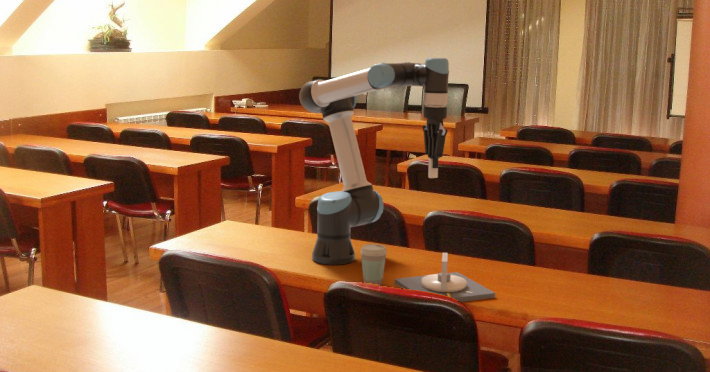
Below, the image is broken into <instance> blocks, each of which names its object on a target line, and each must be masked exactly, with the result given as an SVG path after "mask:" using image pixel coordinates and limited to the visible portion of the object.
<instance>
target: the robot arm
mask: <svg viewBox="0 0 710 372" xmlns="http://www.w3.org/2000/svg"><path fill="white" fill-rule="evenodd" d="M449 64H450V63H449V60H448V59H447V58H446V57H427V58H426V59H425V63H419V62H417V63H416V62H407V61H406V62H399V63H393V62H392V63H391V62H390V63H387V62H386V63H385V62H380V63H374V64H373V65H372V66H371V67H369V68H365V69H362V70H359V71H355V72H351V73H347V74H345V75H342V76H338V77H334V78H331V79H326V80H323V79H316V80H311V81H307V82H306V83H304V84H303V86H301V88H300V90H299V95H298V96H299V102H300V104H301V107H303V108H304V109H305V111H308V112H310V113H313V114H321V115H322V119H323V121H324V122H326V123H328V126H329V131H330V135H331V139H332V143H333V146H334V147H333V148H334V151H335V155H336V159H337V164H338V167H339V171H340V172H339V173H340V175H341V179H342V184H343V187H342V190H340V191H329V192H326V193H323V194H322V195H321V196H319V198H318V200H317V206H316V210H317V211H316V214H317V221H316V222H317V234H316V235H317V237H316V241H315V243H314V246H313V250H312V253H311V259H312V261H314V262H315V263H317V264H321V265H333V266H336V265H337V266H339V265H347V264H351V263H353V262H354V261H355V259H356V253H355V249H354V246H353V242H352V240H351V228H354V227H359V226H363V225H364V226H365V225H369V224H371V223H374V222H377V221H378V220H379V219H380V218H381V216H382V214H383V212H384V200H383V196H382V195H381V194H380V193H379V191H377V190H374V188H373V187H374V186H373V184H372V183H371V182H369V181H368V180H367V176H366V173H365V168H364V164H363V160H362V156H361V152H360V148H359V143H358V138H357V135H356V132H355V131H356V130H355V127H354V124H353V119H352V117H353V115H354V114H355V110H354V108H355V107H356V104H357V103H356V102H357V101H358V96H360V95H362V94H367V93H370V92H374V91H377V90H378V91H379V90H382V89H387V88H393V87H399V88H400V87H424V93H423V105H425V106H424V107H423V118H425V119H426V124H424V125H422V127H421V128H422V132H423V142H424V154H425V156H426V155H427V157H428V173H427V175H428V176H427V177H428V178H429V179H436V178H437V179H438V178H439V159H440V158H442V157H443V154H444V151H445V150H444V149H445V142H446V136H447V134H448V129H446V128H444V119H445V120H446V118H447V117H448V108H447V105H448V98H449V96H448V93H449V92H448V87H449V75H450V68H449V66H450V65H449Z"/></svg>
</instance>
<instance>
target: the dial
mask: <svg viewBox="0 0 710 372" xmlns="http://www.w3.org/2000/svg"><path fill="white" fill-rule="evenodd" d="M449 273H450V272H448V252H442V256H441V272H439V273H433V274H427V276H426V275H423V276H424V277H423V278H422V280H421V285H422V286H423V287H424V288H426V289H428V290H432V291H437V292H457V291H461V290H464V289H465V288H466V283H467V282H466V280H465V279H464V278H462V277H459V276H455V275H451V274H449Z"/></svg>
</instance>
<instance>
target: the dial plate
mask: <svg viewBox="0 0 710 372" xmlns="http://www.w3.org/2000/svg"><path fill="white" fill-rule="evenodd" d="M448 273H449V274H451V275H455V276H459V277H462V278H464V279H465V280H466V282H467V283H466V288H465V289H464V290H461V291H457V292H437V291H432V290H428V289H426V288H424V287H423V286H422V285H421V280H422V278H423V277H424V276H427V275H428V274H427V275H420V276H419V275H417V276H408V277H401V278H395V279H394V284H395V285H396V286H398V287H399V286H400V287H399V288H401V287H402V288H405V289H411V290H419V291H426V292H431V293H436V294H441V295H445V296H448V297H451V298H454V299H456V300H458V301H460V302H459V303H464V302H470V301H477V300H487V299H494V298H496V292H494V291H493V290H491V289H489V288H487V287H486V286H483V285H482V284H480V283H478V282H477V281H474V280H473V279H470V278H469V277H468V276H466V275H463V274H462V273H460V272H458V271H457V272H455V271H454V272H448ZM402 288H401V289H402Z"/></svg>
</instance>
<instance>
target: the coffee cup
mask: <svg viewBox="0 0 710 372" xmlns="http://www.w3.org/2000/svg"><path fill="white" fill-rule="evenodd" d="M359 253H360V255H361V264H362V265H361V268H362V277H363V283H364V282H365V283H372V284H378V286H381V285H382V284H383V277H384V271H385V264H386V257H387V254H388V251H387V247H386V246H385V245H382V244H377V243H367V244H364V245H362V247H361V249H360V252H359Z"/></svg>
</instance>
